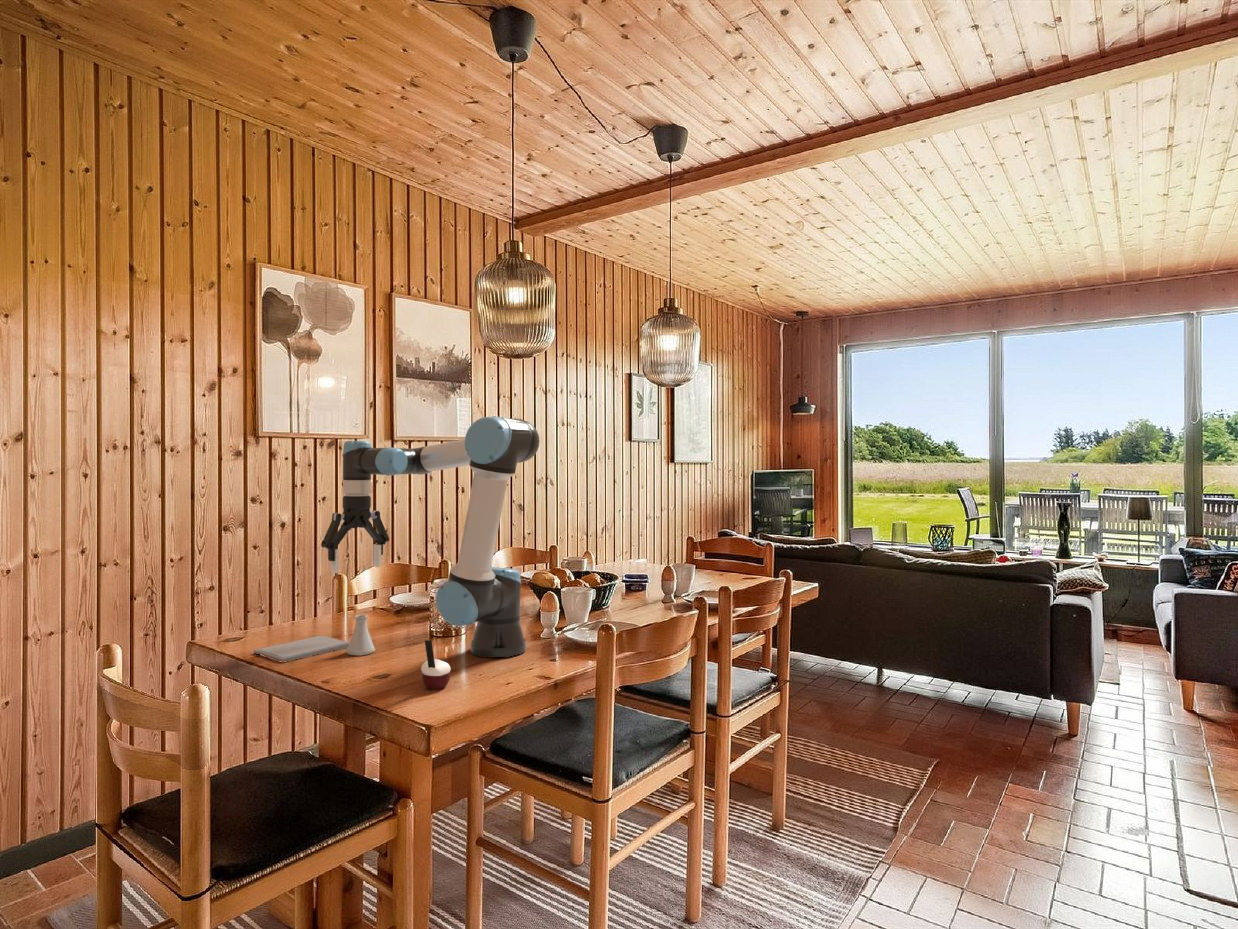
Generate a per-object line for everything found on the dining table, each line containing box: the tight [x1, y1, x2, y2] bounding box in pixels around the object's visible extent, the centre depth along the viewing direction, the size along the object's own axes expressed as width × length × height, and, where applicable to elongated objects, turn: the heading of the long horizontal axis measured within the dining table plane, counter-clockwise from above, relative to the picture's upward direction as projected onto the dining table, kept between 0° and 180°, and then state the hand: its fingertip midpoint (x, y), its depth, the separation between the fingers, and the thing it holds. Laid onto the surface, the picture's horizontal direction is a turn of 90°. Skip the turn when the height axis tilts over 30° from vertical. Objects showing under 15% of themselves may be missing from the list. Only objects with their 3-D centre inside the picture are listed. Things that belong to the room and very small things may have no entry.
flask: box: [345, 614, 376, 657], centre depth 190 cm, size 7×7×10 cm
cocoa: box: [420, 639, 452, 690], centre depth 163 cm, size 10×6×12 cm, turn 149°
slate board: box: [253, 634, 350, 662], centre depth 192 cm, size 14×20×1 cm
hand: (356, 569), depth 200 cm, fingers open, 13 cm apart
